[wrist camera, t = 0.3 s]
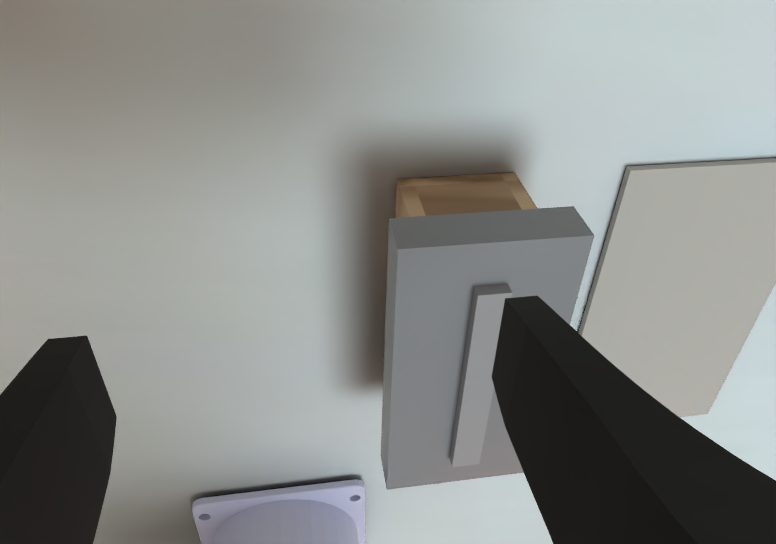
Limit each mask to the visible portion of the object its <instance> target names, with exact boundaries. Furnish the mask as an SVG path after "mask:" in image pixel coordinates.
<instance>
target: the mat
mask: <svg viewBox="0 0 776 544" xmlns="http://www.w3.org/2000/svg"><path fill="white" fill-rule="evenodd" d="M775 283H776V158H768V159H750V160H732V161H714V162H696V163H678V164H660V165H642V166H627V167H626V171H625V174H624V178H623V181H622V184H621V188H620V191H619V195H618V198H617V202H616V205H615V208H614V212H613V215H612V219H611V222H610V226H609V229H608V232H607V236H606V239H605V243H604V246H603V250H602V253H601V257H600V260H599V263H598V267H597V270H596V274H595V277H594V281H593V284H592V287H591V291H590V294H589V298H588V301H587V305H586V308H585V311H584V315H583V318H582V322H581V325H580V329H579V332H578V333H579V334H580V335H581V336H582V337H583V338H584V339H585V340H586V341H588V342H589V343H590V344H591V345H592V346H593V347H594V348H595V349H596V350H598V351H599V352H600V353H601V354H602V355H603V356H604V357H605V358H607V359H608V360H609V361H610V362H611V363H612V364H613V365H615V366H616V367H617V368H618V369H619V370H620V371H622V372H623V373H624V374H625V375H626V376H628V377H629V378H630V379H631V380H632V381H634V382H635V383H636V384H637V385H638V386H640V387H641V388H642V389H643V390H645V391H646V392H647V393H648V394H650V395H651V396H652V397H653V398H655V399H656V400H657V401H659V402H660V403H661V404H663V405H664V406H665V407H666V408H668V409H669V410H670V411H672V412H673V413H674V414H675V415H677V416H678V417H684V416H693V415H701V414H708V412H709V411H710V409H711V407H712V405H713V403H714V401H715V399H716V397H717V395H718V393H719V391H720V389H721V387H722V385H723V384H724V382H725V380H726V378H727V376H728V374H729V372H730V370H731V368H732V366H733V364H734V362H735V360H736V358H737V357H738V355H739V353H740V351H741V349H742V347H743V345H744V343H745V341H746V339H747V337H748V335H749V333H750V332H751V330H752V328H753V326H754V324H755V322H756V320H757V318H758V316H759V314H760V312H761V310H762V308H763V306H764V305H765V303H766V301H767V299H768V297H769V295H770V293H771V291H772V289H773V287H774V285H775Z"/></svg>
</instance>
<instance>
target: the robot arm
mask: <svg viewBox="0 0 776 544" xmlns="http://www.w3.org/2000/svg"><path fill="white" fill-rule="evenodd" d="M492 381H493V384H494V388H495V392H496V396H497V400H498V403H499V407H500V410H501V414H502V417H503V421H504V424H505V428H506V430H507V433H508V435H509V438H510V440H511V442H512V445H513V447H514V450H515V452H516V455H517V457H518V459H519V462H520V464H521V467H522V469H523V472H524V474H525V476H526V479H527V481H528V483H529V486H530V488H531V491H532V493H533V495H534V498H535V500H536V503H537V505H538V507H539V510H540V512H541V514H542V517H543V519H544V522H545V524H546V526H547V529H548V531H549V534H550V536H551V539H552V541H553V544H776V481H775V480H774V479H772V478H770V477H769V476H767V475H765V474H764V473H762V472H760V471H759V470H757V469H755V468H754V467H752V466H750V465H749V464H747V463H746V462H744V461H742V460H741V459H739V458H738V457H736V456H735V455H733V454H731V453H730V452H729V451H727V450H726V449H724V448H723V447H721V446H720V445H718V444H717V443H715V442H714V441H712V440H711V439H709V438H708V437H706V436H705V435H703V434H702V433H701V432H699V431H698V430H696V429H695V428H693V427H692V426H690V425H689V424H688V423H686V422H685V421H684V420H682V419H681V418H679V417H678V416H677V415H675V414H674V413H673V412H672V411H670V410H669V409H668V408H666V407H665V406H664V405H663V404H661V403H660V402H659V401H657V400H656V399H655V398H653V397H652V396H651V395H650V394H648V393H647V392H646V391H645V390H643V389H642V388H641V387H640V386H638V385H637V384H636V383H635V382H634V381H632V380H631V379H630V378H629V377H628V376H626V375H625V374H624V373H623V372H622V371H620V370H619V369H618V368H617V367H616V366H615V365H613V364H612V363H611V362H610V361H609V360H608V359H607V358H605V357H604V356H603V355H602V354H601V353H600V352H599V351H598V350H596V349H595V348H594V347H593V346H592V345H591V344H590V343H589V342H588V341H586V340H585V339H584V338H583V337H582V336H581V335H580V334H579V333H578V332H577V331H575V330H574V329H573V328H572V327H571V326H570V325H569V324H568V323H567V322H566V321H565V320H564V319H563V318H561V317H560V316H559V315H558V314H557V313H556V312H555V311H554V310H553V309H552V308H551V307H550V306H548V305H547V304H546V303H545V302H544V301H543V300H542V299H541V298H540V297H539V296H526V297H515V298H505V302H504V308H503V314H502V319H501V325H500V331H499V337H498V342H497V348H496V354H495V360H494V366H493V371H492ZM115 427H116V414H115V411H114V409H113V406H112V403H111V400H110V398H109V395H108V392H107V389H106V387H105V384H104V381H103V378H102V376H101V373H100V370H99V367H98V365H97V362H96V359H95V356H94V354H93V351H92V348H91V345H90V343H89V340H88V337H87V336H78V337H67V338H55V339H48V340H47V341H46V342H45V343H44V344H43V345H42V347H41V348H40V349H39V350H38V351H37V352H36V353H35V355H34V356H33V357H32V358H31V359H30V360H29V362H28V363H27V364H26V365H25V366H24V367H23V369H22V370H21V371H20V372H19V373H18V375H17V376H16V377H15V378H14V379H13V381H12V382H11V383H10V384H9V385H8V386H7V388H6V389H5V390H4V391H3V392H2V394H1V395H0V544H93V541H94V537H95V533H96V529H97V525H98V521H99V517H100V513H101V509H102V505H103V501H104V497H105V493H106V489H107V485H108V480H109V476H110V470H111V463H112V455H113V447H114V437H115ZM192 514H193V517H194V520H195V524H196V527H197V531H198V534H199V538H200V541H201V544H365V485H364V482H363V481H361V480H358V479H353V480H345V481H337V482H329V483H321V484H312V485H304V486H296V487H288V488H279V489H271V490H263V491H255V492H246V493H238V494H230V495H222V496H214V497H205V498H200V499H197V500H195V501H194V502H193V505H192Z"/></svg>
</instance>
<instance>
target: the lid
mask: <svg viewBox="0 0 776 544" xmlns="http://www.w3.org/2000/svg"><path fill="white" fill-rule="evenodd" d="M593 238H594V234H593V233H592V232H591V230H590V229H589V227H588V226H587V225H586V223H585V222H584V220H583V219H582V218H581V216H580V215H579V213H578V212H577V211H576V209H575V208H574V206H572V207H557V208H541V209H526V210H510V211H494V212H479V213H463V214H448V215H432V216H416V217H401V218H389V235H388V263H387V292H386V321H385V349H384V378H383V407H382V436H381V460H382V465H383V471H384V477H385V482H386V488H387V489H395V488H403V487H411V486H419V485H427V484H435V483H443V482H451V481H459V480H467V479H475V478H483V477H491V476H499V475H507V474H515V473H523V469H522V467H521V464H520V462H519V459H518V457H517V455H516V452H515V450H514V447H513V445H512V442H511V440H510V438H509V435H508V433H507V430H506V428H505V424H504V421H503V417H502V414H501V410H500V407H499V403H498V400H497V396H496V392H495V388H494V384H493V381H492V371H493V366H494V360H495V354H496V348H497V342H498V337H499V331H500V325H501V319H502V314H503V308H504V302H505V298H515V297H526V296H539V297H540V298H541V299H542V300H543V301H544V302H545V303H546V304H547V305H548V306H550V307H551V308H552V309H553V310H554V311H555V312H556V313H557V314H558V315H559V316H560V317H561V318H563V319H564V320H565V321H566V322H567V323H568V324H569V325H570V321H571V318H572V314H573V310H574V307H575V303H576V299H577V296H578V292H579V289H580V285H581V281H582V278H583V274H584V271H585V267H586V263H587V260H588V256H589V252H590V249H591V245H592V242H593Z"/></svg>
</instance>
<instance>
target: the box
mask: <svg viewBox="0 0 776 544" xmlns="http://www.w3.org/2000/svg"><path fill="white" fill-rule="evenodd" d="M526 209H537V207H536V205H535V204H534V202H533V201H532V199H531V197H530V196H529V194H528V193H527V191H526V190H525V188H524V186H523V185H522V183H521V182H520V180H519V178H518V177H517V175H516V174H515V173H498V174H480V175H462V176H444V177H426V178H408V179H397V185H396V209H395V218H401V217H416V216H432V215H448V214H463V213H479V212H494V211H510V210H526Z"/></svg>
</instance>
